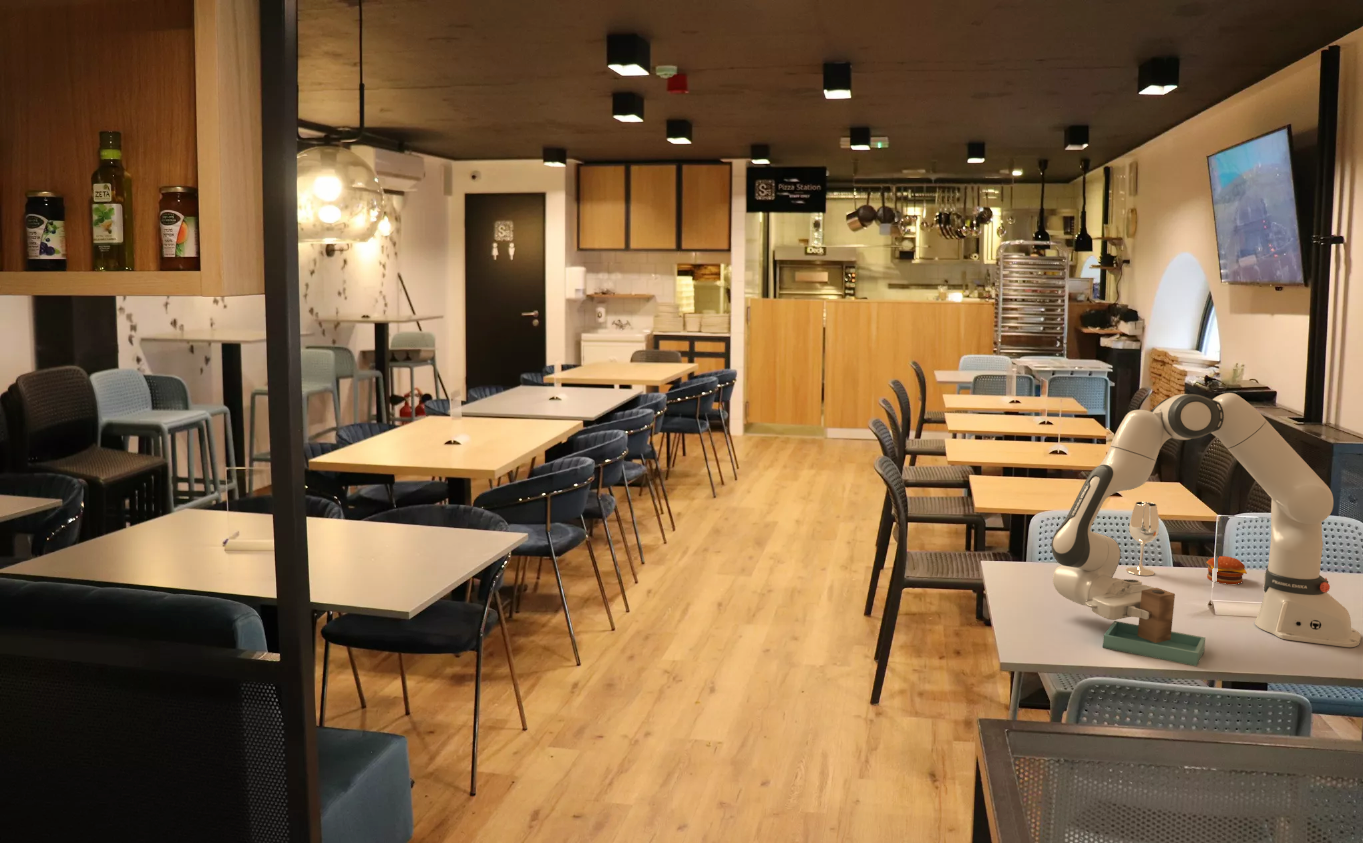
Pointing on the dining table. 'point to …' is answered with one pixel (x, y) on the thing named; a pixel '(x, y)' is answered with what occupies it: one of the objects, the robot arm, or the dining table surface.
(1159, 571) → the dining table surface
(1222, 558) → the hamburger
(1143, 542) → the wineglass
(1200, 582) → the dining table surface
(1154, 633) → the block
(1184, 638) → the tray
